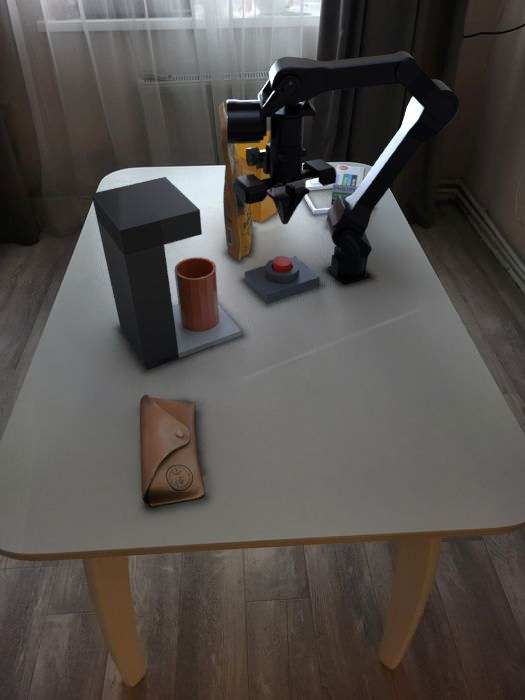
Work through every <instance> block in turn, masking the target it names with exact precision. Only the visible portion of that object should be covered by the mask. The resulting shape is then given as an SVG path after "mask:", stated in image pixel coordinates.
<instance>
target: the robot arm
mask: <svg viewBox="0 0 525 700" xmlns="http://www.w3.org/2000/svg"><path fill="white" fill-rule="evenodd" d="M396 84H398V85H399V84H400V85H402V87H403V88H404V89H405V90H406V91H407V92H408V93H409V94H410V95H411V96H412V97H411V98H410V101H409V103H408V105H407V106H406V110H405V113H404V115H403V116H404V117H403V120H402V124H401V125H400V128H399V130H398V131H397V132H396V134H395V135H394V136H393V138H392V139H391V140H390V142H389V143H388V145H387V146H386V147H385V148H384V150H383V152H382V153H381V154H380V156H379V157H378V159H377V160H376V161H375V163H374V165H372V167H371V168H370V170H369V171H368V173H367V174H365V176H364V180H363V181H362V182H361V184H360V185H359V187H358V188H357V189H356V191H355V192H354V193H353V194H352V195H350V196H349V197H347V198H345V199H344V198H343V197H342V196H341V195H339V196H338V197H337V199H336V201H335V203H334V205H333V206H332V207H331V206H330V207H329V208H330V209H329V210H327V211H328V213H327V217H326V225H327V229H328V232H329V235H330V238H331V241H332V243H333V244H334V246H333V247H334V248H333V254H332V255H331V263H330V266H328V267H327V271H328V272H330V273H331V274H332V275H333V276H334V277H335V278H336V279H337V280H338V281H339V282H341V284H343V285H349V284H351V283H354V282H358V281H361V280H364V279H368V278H370V277H371V273H370V272H369V271H368V270H367V264H368V258H369V256H370V254H371V253H372V250H373V248H372V246H371V243H370V240H369V237H368V236H367V234H366V231H367V229H368V226H369V223H370V219H371V216H372V213H373V210H374V209H375V207H376V206H377V205H378V204H379V202H380V201H381V200H382V198H383V197H384V195H386V193H387V192H388V190H389V189H390V187H391V186H392V185H393V183H394V182H395V181H396V180H397V178H398V177H399V175H401V173H402V172H403V170H404V169H405V167H407V165H408V164H409V162H410V161H411V160H412V158H413V157H414V155H415V154H416V153H417V152H418V150H419V149H420V147H421V146H422V145H423V144H424V143H426V142H427V141H429V140H431V139H432V138H434V137H436V136H437V135H439V134H440V133H441V132H442V131H443V130H444V129H445V128H446V127H447V126H448V125H449V124H450V123H451V122H452V121H454V119H455V118H456V116H457V114H458V113H459V109H460V107H459V105H460V104H459V97H458V95H457V94H456V93H455V92H454V91H452V89H450V88H449V87H448V86H447V85H446V84H445V83H444V82H443V81H441V80H439V79H436V78H431V77H429V75H428V74H427V73H426V72H425V71H424V70H423V69H422V68H421V66H420V65H419V63H418V61H417V60H416V58H414V57H413V56H412V55H411V54H410V53H409V52H407V51H403V50H401V51H397V52H395V53H389V54H381V55H371V56H363V57H355V58H353V57H352V58H345V59H336V60H327V61H325V60H317V59H313V58H312V59H311V58H307V57H296V56H283V57H280V58H278V59H276V60H275V62H274V63H273V64H272V65H271V68H270V69H269V74H268V80H267V81H266V83H265V85H264V86H263V88H262V89H261V90H260V92H259V93H258V95H257V99H249V100H243V99H242V100H239V99H235V98H234V99H227V100H226V115H227V116H226V126H227V144H242V143H260V140H263V139H264V136H267V131H268V120H267V119H268V118H269V131H270V143H269V144H266V149H265V150H260V151H259V148H258V147H251V148H247V149H246V162H247V165H248V166H256V169H257V170H258V169H263V172H264V173H265V174H269V175H270V178H266V179H262V180H260V179H259V178H258V177H256V176H255V175H254V174H250V175H246V176H241V177H237V178H236V179H235V180H234V182H233V193H234V194H236V195H237V196H238V197H239V198H240V199H241V200H242V201H243V202H245V203H246V204H253V203H257V202H261V201H264V199H265V198H266V197H267V195H268V196H269V197H270V198H271V199H272V200H273V201H274V204H275V206H276V209H277V212H276V213H277V214H278V218H279V221H280V222H281V224H283V226H284V225H288V224H289V222H290V220H291V219H292V218H293V215H294V214H295V212H296V210H297V208H298V206H299V205H300V203H301V202H302V201H303V199H304V196H305V195H306V194H307V195H309V194H310V193H311V192H310V191H311V190H309V189H308V188H306V181H307V180H311V179H315V178H319V183H320V184H321V185H323V186H326V185H330V184H334V183H336V177H337V172H336V168H335V167H334V166H333V165H332V164H329V163H328V162H327V161H326V160H324V159H322V158H317V159H313V160H309V161H305V162H304V163H303V157H307V156H308V150H307V149H306V148H304V133H305V131H304V130H305V117H316V116H317V114H318V113H317V111H316V108H315V106H314V104H312V103H311V102H310V101H311V100H313V99H315V98H317V97H319V96H320V95H322V94H326V93H328V92H334V91H343V90H344V91H345V90H353V89H362V88H369V87H370V88H371V87H378V86H386V85H387V86H388V85H396Z"/></svg>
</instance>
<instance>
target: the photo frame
mask: <svg viewBox="0 0 525 700" xmlns="http://www.w3.org/2000/svg"><path fill="white" fill-rule="evenodd" d="M306 188H308V189H309V190H310V191H317V190H328V189H332V188H333V184H330V185H326V186H323V185H321V184H320V183H319V178H315V179H311V180H307V181H306ZM303 199H304V200H305V202H306V203H307V205H308V207H309V208H310V210H311V212H312V214H313V215H318V214H319V215H320V214H328V211H327V210H329V209H330V208H331V207H323V208H316V207H315V205H314V203H313V202H312V200H311V198H310V197H309V194H306V195H305V196H304V198H303Z"/></svg>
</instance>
